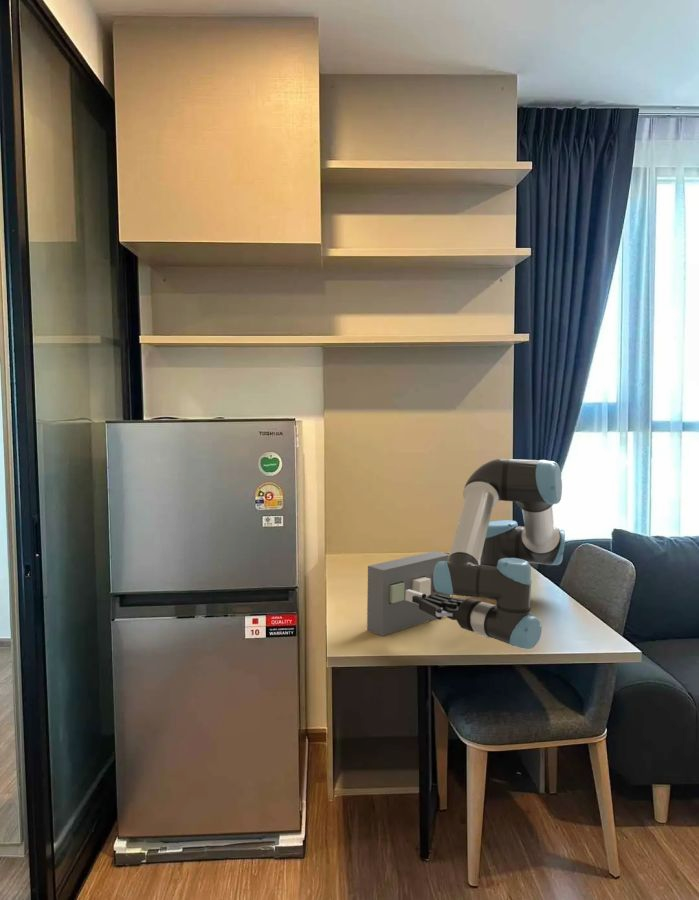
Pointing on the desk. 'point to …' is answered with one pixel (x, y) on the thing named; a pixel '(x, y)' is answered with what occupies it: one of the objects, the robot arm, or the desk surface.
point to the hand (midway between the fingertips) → (407, 594)
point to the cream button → (422, 585)
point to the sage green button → (396, 592)
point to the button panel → (404, 613)
